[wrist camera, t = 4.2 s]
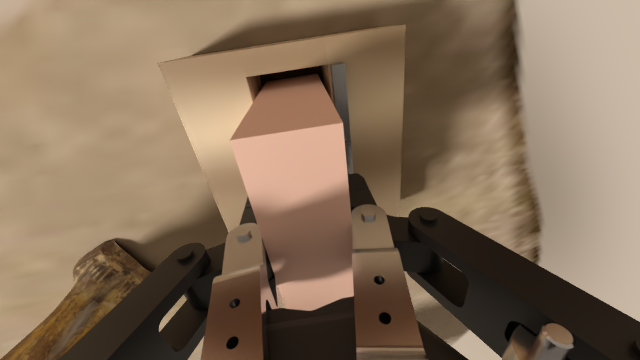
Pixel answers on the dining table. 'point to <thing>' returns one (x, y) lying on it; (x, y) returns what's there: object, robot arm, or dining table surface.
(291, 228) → the pink square prism
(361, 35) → the dispenser
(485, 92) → the dining table surface
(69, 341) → the sculpture
